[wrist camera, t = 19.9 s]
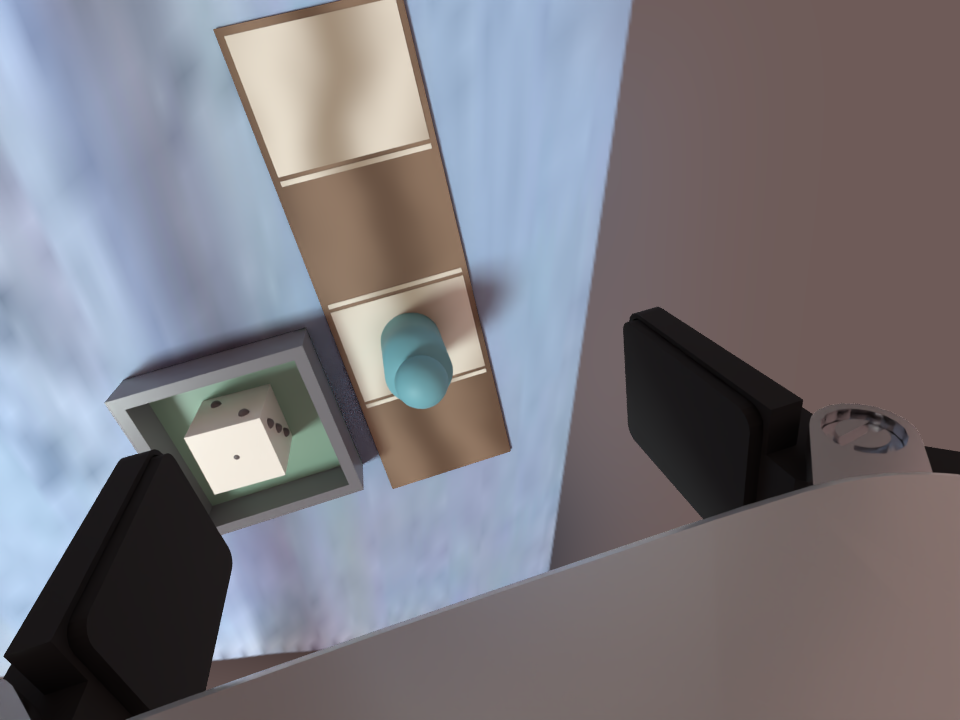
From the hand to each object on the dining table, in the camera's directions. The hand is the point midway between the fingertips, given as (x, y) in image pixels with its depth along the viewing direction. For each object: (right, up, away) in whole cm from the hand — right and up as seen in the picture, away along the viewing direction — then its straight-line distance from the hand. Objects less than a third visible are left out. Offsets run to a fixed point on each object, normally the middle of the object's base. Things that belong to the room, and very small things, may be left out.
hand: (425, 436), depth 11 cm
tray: (-15, -3, +26) cm, 31 cm away
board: (-5, +6, +24) cm, 26 cm away
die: (-15, -3, +26) cm, 30 cm away
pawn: (-4, +3, +26) cm, 26 cm away
